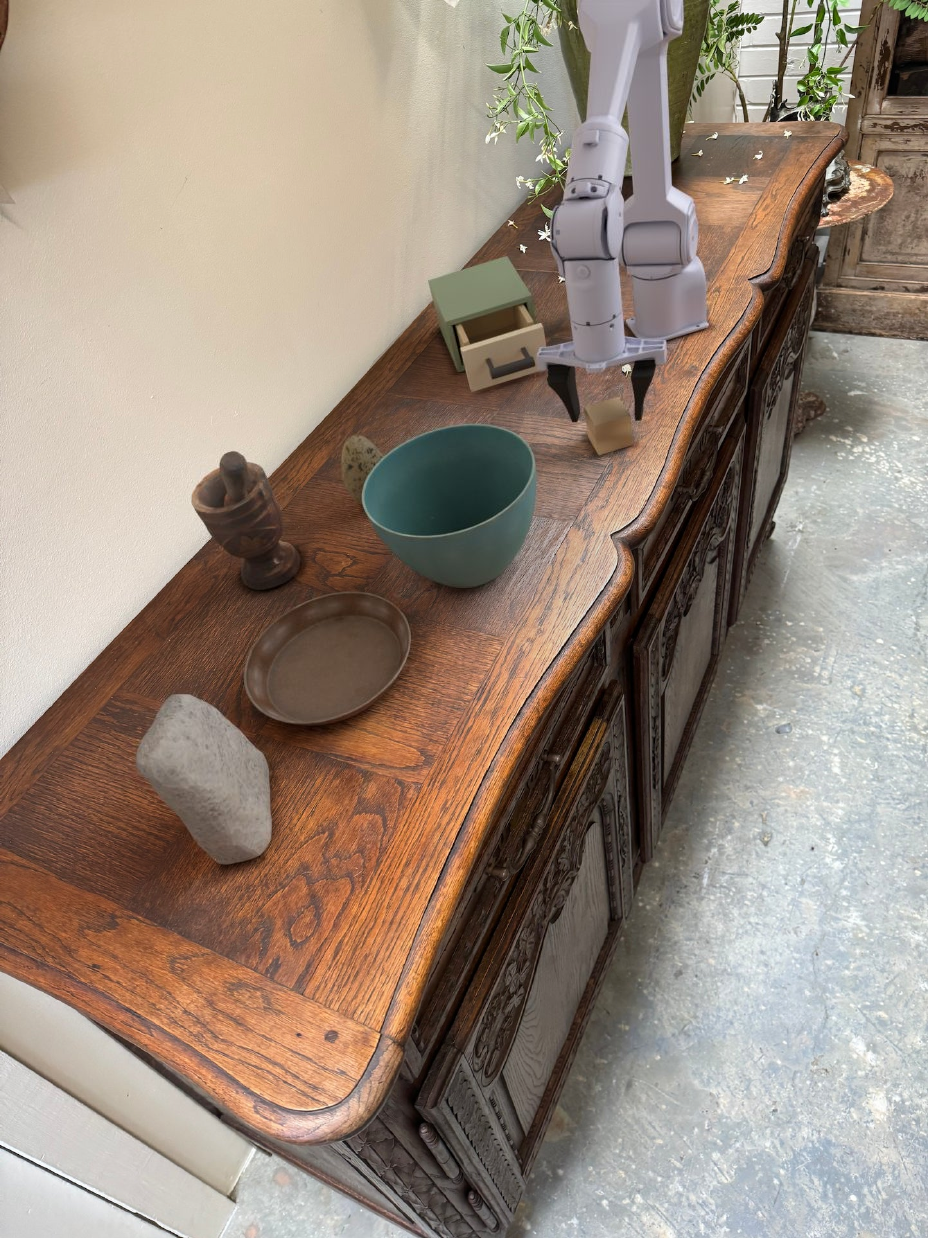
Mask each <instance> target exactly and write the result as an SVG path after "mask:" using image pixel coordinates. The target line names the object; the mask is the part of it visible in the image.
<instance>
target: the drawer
mask: <svg viewBox="0 0 928 1238" xmlns="http://www.w3.org/2000/svg"><path fill="white" fill-rule="evenodd" d="M452 326H453V330H454V334H455V338H456V342H457V346H458V348H459V350H460V353H461V355H462V358H463V362H464V366H465V373H466V377H467V382H468V386H469V390H470V392H471V393H474V392H477V391H480V390H483V389H486V388H489V387H492V386H496V385H499V384H502V383H505V382H509V381H511V380H515V379H519V378H522V377H525V376H527V375H531V374H535V373H537V372H540V371H539V370H538V364H537V358H536V356H537V353H538V351H539V348H540V347H547V343H546V342H547V341H546V337H545V335H546V334H545V329H544V326H543V324H542V322H539V323H536V324H535V325H534V322H533V320H532V318H531V317H530V315H529V313H528V311H527V310H526V308H525V306H524V305H523V303H522V304H519V305H515V306H512V307H509V308H506V309H503V310H499V311H496V312H493V313H490V314H487V315H483V316H480V317H477V318H474V319H470V320H467V321H464V322H461V323H458V324H454V325H452Z"/></svg>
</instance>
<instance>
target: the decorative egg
mask: <svg viewBox="0 0 928 1238" xmlns="http://www.w3.org/2000/svg"><path fill="white" fill-rule="evenodd" d="M384 456H385V455H383V453H382V452H381V450H380V449H379V448H378V446H376V445H375V444H374V442H372V441H371V440H370V439H368V438H367V437H365V436H362V435H359V434H354V435H351V436H349V437H348V438H347V439H346V440H345V442H344V444H343V446H342V451H341V457H340V458H341V459H340V463H341V464H340V465H341V467H340V468H341V476H342V481H343V484H344V487H345V489H346V492H347V493H348V495H349V497H350V498H351V499H352V500H353V501H354V502H355V503H357V504H358V505H360V506H362V507H363V504H362V491H363V486H364V483H365V481H366V479H367V477H368V475H369V474H370V472H371V471H372V469H373V468H374V467H375V465H376V464H377V463H378V462H379V461H380V460H381V459H382V458H383V457H384Z"/></svg>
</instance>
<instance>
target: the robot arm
mask: <svg viewBox="0 0 928 1238" xmlns="http://www.w3.org/2000/svg"><path fill="white" fill-rule="evenodd" d="M576 3H577V4H576V6H577V9H576V11H577V21H578V26H579V29H580V32H581V34H582V36H583V40H584V44H585V47H586V49H587V51H588V52H589V53H590V63H589V74H588V75H589V76H588V77H589V78H588V89H587V102H586V103H587V105H586V119H585V121H584V122H583V123H581V124H580V125H579V126H578V127H577V128H576V129H575V130H574V132H573V134H572V139H571V141H572V142H571V145H570V153H569V160H568V165H567V172H566V178H565V185H564V191H563V197H562V201H561V202H560V204H558V205H555V206H554V208H553V209H552V213H551V215H550V223H549V238H550V239H549V240H550V242H549V244H550V249H551V253H552V256H553V258H554V260H555V261H556V265H557V269H558V275H559V276H560V278H562V279H564V283H565V291H566V292H565V293H566V299H567V305H568V306H567V307H568V314H569V320H570V321H569V322H570V327H571V334H572V341H567V342H564V343H559V344H555V345H550V346H546V347H540V348H539V351H538V353H537V356H536V358H537V364H538V370H539V371H538V372H542V371H544V372H545V371H547V376H546V382H547V385H548V387H549V388H550V389H551V390H552V391H554V393H555V394H556V395H557V396H558V398H559V399H560V401H561V402H562V403H563V406H564V407H565V409H566V411H567V413H568V415H569V418H570V421H571V423H578V422H579V418H580V415H581V404H580V403H581V402H580V398H579V394H578V387H577V376H576V368H581V369H585V372H586V373H587V374H601V373H604V372H605V370H606V369H607V368H610V367H615V366H619V365H626V364H633V367H632V370H631V374H630V383H631V387H632V393H633V401H634V420H635V422H641V421H642V419H643V417H644V407H645V398H646V397H647V396H646V395H647V393H648V390H649V388H650V385H651V384H652V382H653V379H654V377H655V372H656V368H657V366H665V365H666V362H667V356H668V351H667V348H668V347H667V341H669V340H672V339H674V338H678V337H682V336H685V335H688V334H691V333H694V332H698V331H701V330H704V329H707V328H709V326H710V325H709V322H708V321H707V279H706V278H707V277H706V274H705V268H704V265H703V263H702V261H701V259H700V258H699V256H698V255H696V254H697V250H698V245H699V244H698V243H699V242H698V241H699V221H698V218H697V214H696V213H697V211H696V203H694V198H693V197H691V196H690V195H689V194H686V193H684V192H683V191H681V190H680V189H678V188H676V187H674V186H673V185H672V184H673V183H672V161H671V157H672V156H671V140H670V139H671V135H670V134H671V133H670V111H669V109H670V108H669V88H668V87H669V84H668V62H667V61H668V60H667V55H668V48H669V42H671V41H673V40H675V39H677V38H678V37H681V36H682V33H683V27H684V19H685V18H684V0H577V2H576ZM625 109H626V110H627V111H626V112H627V123H628V124H627V125H628V133H627V131H626V130H625V129H624V127H623V126H622V121H623V116H624V113H625ZM628 149H630V151H629V150H628ZM628 151H629V153H630V164H631V178H632V192H633V194H632V195H631V196H629V197H628V198H627V199H626V200H625V199H624V197H623V194H622V188H623V183H624V182H623V181H624V176H625V169H626V163H627V156H628ZM619 264H620V265H619ZM620 267H622V268H626V274H627V275H628V276H630V277H631V288H632V290H631V291H632V301H633V302H632V303H633V316H632V317H629V318H627V319H625V324H626V326H627V327H628V328H629V330H630V331H631V332H632V333H633V335H634V336H635V337H633V336H632V337H631V336H625V326H624V313H623V301H622V300H623V299H622V289H621V278H620V277H621V276H620Z"/></svg>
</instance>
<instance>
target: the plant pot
mask: <svg viewBox="0 0 928 1238" xmlns="http://www.w3.org/2000/svg"><path fill="white" fill-rule="evenodd" d="M383 456H384V457H383V458H382V459H381V460H380V461H379V462H378V463H377V464H376V465H375V467H374V468H373V469H372V471H371V472H370V474H369V475H368V477H367V479H366V481H365V483H364V486H363V491H362V504H363V506H362V507H363V510H364V512H365V514H366V517H367V519H368V520H369V522H370V524H371V526H372V528H373V529H374V531H375V533H376V534H377V536H378V537H379V539H380V540H381V541H382V542H383V543H384V544H385V546H386V547H387V548H388V550H389V551H390V552H392V554H393V555H394V556H395V557H396V558H397V559H398V560H400V561H401V563H403V564H404V565H405V566H407V567H408V568H409V569H411V570H412V571H414V572H415V573H417V574H418V575H420V576H422V577H424V578H426V579H428V580H431V581H433V582H436V583H438V584H440V585H444V586H448V587H452V588H458V589H470V588H476V587H479V586H480V587H481V586H483V585H485V584H488V583H490V582H491V581H493V580H495V579H496V578H497V577H499V576H500V575H501V574H503V572H505V570H506V569H507V568H508V567H509V566H510V565H511V563H512V562H513V561H514V560H515V558H516V557H517V555H518V554H519V552H520V550H521V548H522V547H523V545H524V543H525V541H526V538H527V536H528V533H529V531H530V529H531V525H532V521H533V518H534V512H535V507H536V501H537V487H538V485H537V484H538V483H537V478H538V477H537V466H536V460H535V455H534V453H533V450H532V448H531V446H530V444H529V443H528V442H527V441H526V440H525V439H524V438H523V437H521V436H520V435H518V434H517V433H516V432H514V431H511V430H510V429H508V428H504V427H501V426H496V425H491V424H485V423H484V424H483V423H465V424H455V425H448V426H444V427H440V428H436V429H433V430H430V431H427V432H423V433H422V434H419V435H417V436H414V437H412V438H409V439H408V440H406V441H404V442H402V443H401V444H399V445H397V446H396V447H395V448H393V449H392V450H391V451H388V453H386V454H385V455H383Z"/></svg>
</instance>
